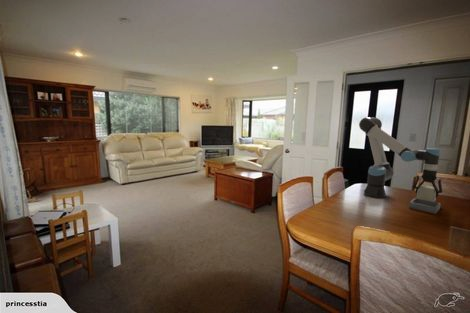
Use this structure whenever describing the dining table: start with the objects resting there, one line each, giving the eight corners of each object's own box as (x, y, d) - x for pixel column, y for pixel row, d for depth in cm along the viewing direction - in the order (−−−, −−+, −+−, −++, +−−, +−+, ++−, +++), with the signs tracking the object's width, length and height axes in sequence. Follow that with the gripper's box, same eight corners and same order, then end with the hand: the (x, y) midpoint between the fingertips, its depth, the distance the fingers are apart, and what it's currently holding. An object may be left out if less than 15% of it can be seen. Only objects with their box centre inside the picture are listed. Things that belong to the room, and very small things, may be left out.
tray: (409, 207, 154) (409, 202, 153) (414, 203, 163) (414, 197, 162) (435, 213, 143) (436, 208, 142) (439, 208, 152) (440, 203, 151)
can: (427, 200, 169) (429, 184, 167) (437, 204, 160) (439, 188, 158) (414, 199, 170) (416, 184, 168) (423, 203, 161) (425, 187, 159)
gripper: (410, 167, 167) (406, 196, 170) (449, 173, 150) (444, 204, 154) (412, 166, 171) (409, 194, 175) (451, 171, 155) (446, 202, 159)
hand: (425, 199), depth 164 cm, fingers closed on can, 9 cm apart
